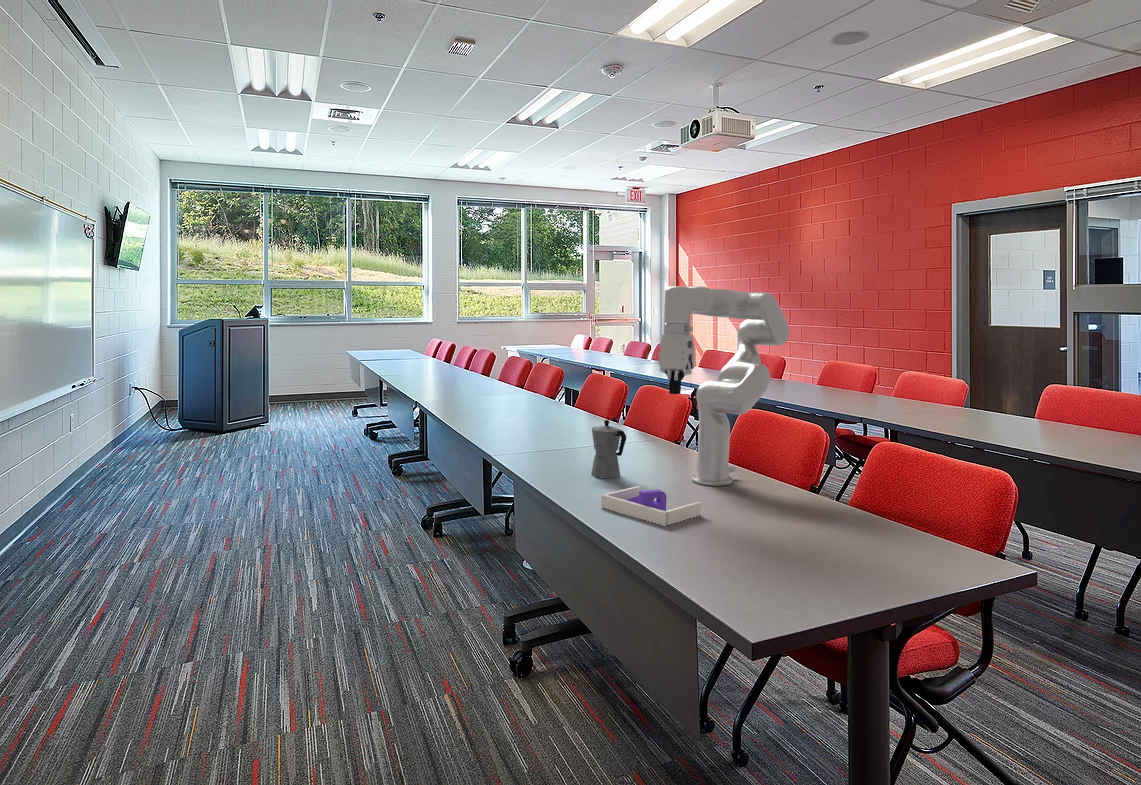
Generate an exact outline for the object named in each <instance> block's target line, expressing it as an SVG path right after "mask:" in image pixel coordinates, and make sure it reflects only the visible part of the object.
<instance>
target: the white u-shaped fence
mask: <svg viewBox="0 0 1141 785" xmlns="http://www.w3.org/2000/svg"><path fill="white" fill-rule="evenodd" d="M639 491H641V486H639V485H637V486H633V487H629V488H623V489H620V490H615V491H612V492H607V493H603V494H601V495H600V496H601V497H600V498H601V500H600V502H601V503H600V504H601V505H600V507H602V509H604V508H606V509H605V510H608V509H609V510H608V511H612V512H614V511H615V512H614V513H619V514H621V515H624V514H625V515H624V516H628V515H629V516H628V517H631V516H632V517H631V518H634V517H635V519H638V518H639V520H641V519H643V520H642V521H644V520H646V521H645V522H648V521H649V522H648V523H651V522H653V523H652V524H654V523H656V524H655V525H658V524H660V525H659V526H661V525H663V526H662V527H664V526H665V527H668V526H667V525H669V526H671V525H670V524H672V525H674V524H673V523H675V524H677V523H676V522H678V523H680V522H679V521H681V522H683V521H682V520H685V519H688V520H690V519H689V518H691V519H694V518H697V517H700V516H699V515H701V514H702V513H701V511H702V510H701V508H702V502H701V501H695V502H692V503H688V504H685V505H682V506H679V507H675V508H671V509H668V510H667V509H666V511H662V510H659V509H655V508H651V507H648V506H644V505H641V504H637V503H634V502H630V501H626V500H628V499H631V498H634V497H636V496H639ZM696 516H697V517H696ZM693 517H694V518H693ZM685 521H686V520H685Z"/></svg>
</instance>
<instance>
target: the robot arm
mask: <svg viewBox="0 0 1141 785" xmlns="http://www.w3.org/2000/svg"><path fill="white" fill-rule="evenodd" d="M692 314H693V315H699V316H700V315H701V316H708V317H713V318H714V317H717V318H727V319H728V318H729V319H738V320H743V321H742V322H740V324H739V326H738V327H737V332H736V333H737V334H736V335H737V337H736V338H737V348H736V352H735V354H733V356H732V357H731V358H730V359H729V360H728V361H727V362H726V364H725V365H724V366H723V367H722V368H721V369H720V371H719V373H718V376H717V380H706V381H704V382H702V383H701V384H699V386H698V388H697V389H696V403H697V404H696V405H697V410H698V439H697V441H698V442H697V462H696V463H697V465H696V466H697V467H696V473H695V474H693V475H692V476H691V480H692V482H694V483H696V484H699V485H705V486H712V487H713V486H714V487H715V486H718V487H719V486H720V487H721V486H728V485H729V486H730V485H731V484H733V482H734V478H733V477H732V476H730V473H734V472H736V467H735V465H730V466H729V460H730V458H729V457H730V436H731V435H730V434H731V423H730V420H729V418H728V416H727V414H730V415H739V416H740V415H744V414H747V413H748V412H749V411H750V410H751V409H752V408H753V407H754V406H755V404H756V403H757V402H758V401H759V400H760V399H761V397H762V396H763V395H764V394H765V392H766V391H767V390H768V388H769V385H770V380H771V373H770V370H769V369H768V367H767V366H766V365H765V364H763V363H762V362H761V360H762V359H761V354H760V352H759V351H758V348H757V345H758V346H773V347H774V346H775V347H777V346H782V345H785V343H787V342H788V339H789V337H790V327H789V323H788V320H787V319H786V317H785V315H784V313H783V311H782V308H781V307H780V305H779V303H778V301H777V300H776V298H775V297H774V295H772V293H769V292H767V291H765V292H764V291H762V292H752V291H751V292H750V291H749V292H748V291H747V292H746V291H739V290H733V289H727V288H709V287H707V286H698V285H697V286H695V285H694V286H683V285H682V286H680V285H678V286H676V285H673V286H667V287H666V289H665V290H664V309H663V334H662V335H661V339H660V344H659V351H658V366H659V371H660V372H661V373H663V374H665V375H666V377H667V380H668V382H669V383H668V384H669V385H668V386H669V387H668V391H669V392H668V394H670V395H680V394H681V392H682V390H681V389H682V381H683V380H684V377H685V376H687V375H689V376H690V375H691V374H692V373H693V372H692V371H693V369H694V368H695V367H696V365H695V364H696V354H695V353H696V351H695V344H694V336H693V335H691V332H692V331H693V330H694V328H693V326H691V315H692Z"/></svg>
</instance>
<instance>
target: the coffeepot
mask: <svg viewBox="0 0 1141 785" xmlns="http://www.w3.org/2000/svg"><path fill="white" fill-rule="evenodd" d="M603 424H604V425H601V426H593V427H592V428H591V432H592V433H591V434H592V442H593V449H594V450H595V455H594V459H593V462H592V469H591V475H592V474H593V475H594V476H596V477H595V478H597V477H602V478H601V479H604V478H610V479H615V478H614V477H617V478H619V477H618V476H621V473H620V472H621V471H620V464H619V458H618V457H621V456H622V455H623V451H624V447H625V445H626V441H627V435H626V433H625V431H624V430H622V429H621V428H619V427H616V426H615V427H614V426H610V420H608V419H605V420H604V423H603ZM617 451H618V452H617ZM594 476H593V477H594Z"/></svg>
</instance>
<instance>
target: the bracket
mask: <svg viewBox="0 0 1141 785" xmlns="http://www.w3.org/2000/svg"><path fill="white" fill-rule="evenodd" d="M655 499H656V500H655ZM626 501H630V502H634V503H637V504H641V505H644V506H648V507H651V508H655V509H659V510H662V511H667V494H666V493H665V492H664V491H663V490H661V489H649V490H647V489H646V490H640V491H639V496H636V497H634V498H631V499H628V500H626Z"/></svg>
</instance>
